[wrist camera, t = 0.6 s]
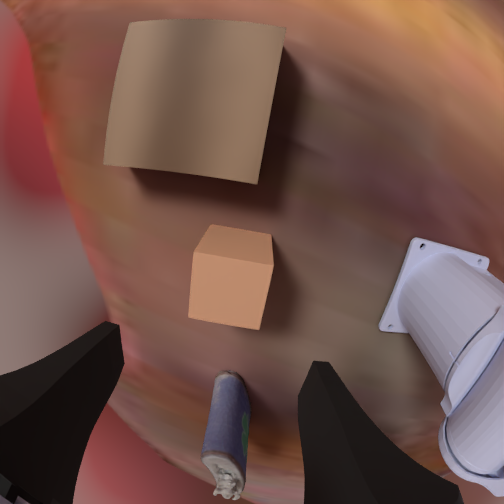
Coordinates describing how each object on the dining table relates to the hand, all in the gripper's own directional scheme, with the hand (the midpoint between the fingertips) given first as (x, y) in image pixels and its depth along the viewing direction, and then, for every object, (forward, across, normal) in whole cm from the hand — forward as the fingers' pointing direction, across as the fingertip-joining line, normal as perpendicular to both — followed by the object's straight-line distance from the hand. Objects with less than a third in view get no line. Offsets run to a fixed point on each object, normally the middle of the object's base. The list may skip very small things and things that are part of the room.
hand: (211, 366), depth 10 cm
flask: (+11, -2, +15) cm, 18 cm away
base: (+10, +4, -10) cm, 15 cm away
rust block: (+10, 0, 0) cm, 10 cm away
